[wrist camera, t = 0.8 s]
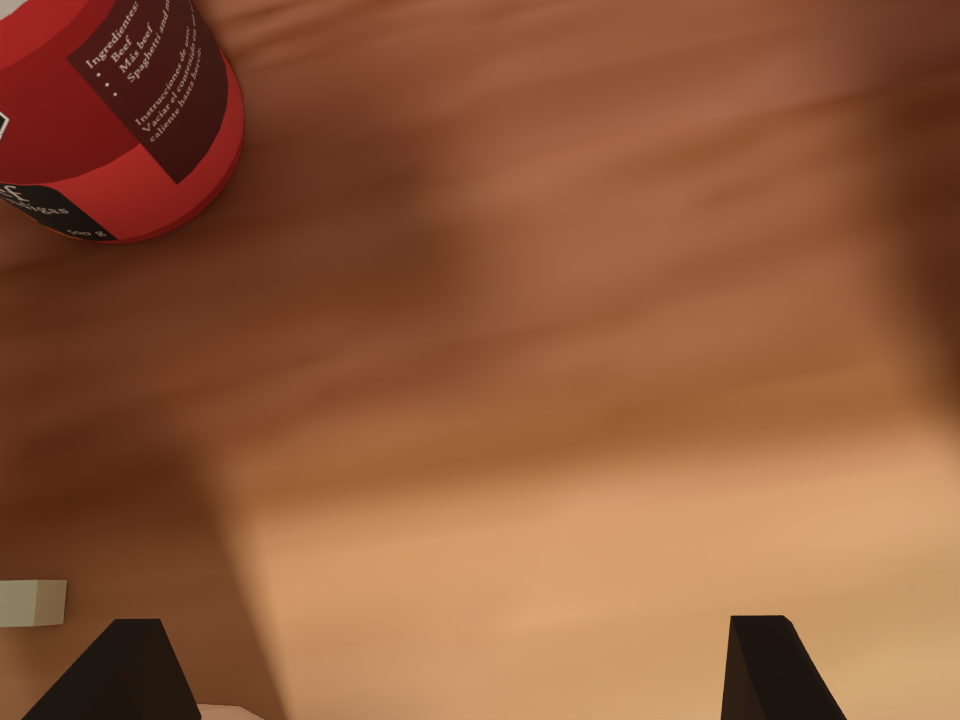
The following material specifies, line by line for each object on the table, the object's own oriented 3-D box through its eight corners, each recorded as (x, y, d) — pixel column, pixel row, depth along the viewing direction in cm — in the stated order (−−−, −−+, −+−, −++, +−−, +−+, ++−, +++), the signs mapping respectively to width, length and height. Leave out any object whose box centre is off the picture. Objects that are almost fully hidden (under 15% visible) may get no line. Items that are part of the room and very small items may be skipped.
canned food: (-23, 120, 29) (-346, -150, 18) (185, -2, 30) (-11, -330, 19) (76, 300, 27) (-220, 115, 17) (296, 166, 28) (146, -95, 17)
